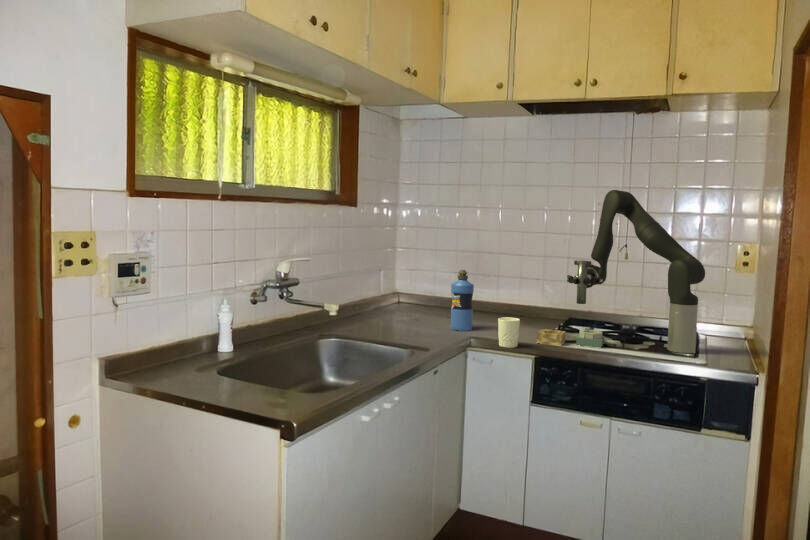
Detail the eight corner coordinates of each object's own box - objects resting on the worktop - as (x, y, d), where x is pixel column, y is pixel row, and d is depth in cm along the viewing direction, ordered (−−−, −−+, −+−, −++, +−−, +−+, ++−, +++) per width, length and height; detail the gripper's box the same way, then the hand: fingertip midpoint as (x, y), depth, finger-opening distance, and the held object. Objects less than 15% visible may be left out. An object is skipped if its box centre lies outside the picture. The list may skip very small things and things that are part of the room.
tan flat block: (565, 341, 233) (565, 331, 232) (561, 345, 225) (561, 335, 224) (541, 339, 236) (542, 329, 236) (536, 343, 228) (537, 332, 228)
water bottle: (463, 326, 261) (464, 268, 259) (477, 330, 253) (478, 270, 251) (445, 328, 256) (447, 269, 254) (459, 332, 248) (461, 271, 246)
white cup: (514, 343, 228) (515, 317, 227) (522, 347, 220) (523, 320, 219) (494, 343, 226) (495, 317, 225) (501, 348, 218) (502, 321, 218)
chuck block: (620, 345, 227) (621, 332, 227) (618, 349, 219) (619, 336, 219) (579, 341, 233) (580, 328, 233) (576, 345, 225) (576, 332, 225)
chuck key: (590, 303, 228) (591, 260, 226) (588, 304, 225) (590, 261, 223) (573, 302, 230) (575, 260, 229) (572, 303, 227) (573, 260, 226)
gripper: (569, 267, 242) (561, 270, 227) (606, 269, 236) (601, 272, 221) (569, 285, 243) (561, 290, 227) (605, 288, 237) (600, 293, 222)
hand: (580, 281), depth 224 cm, fingers closed on chuck key, 3 cm apart
